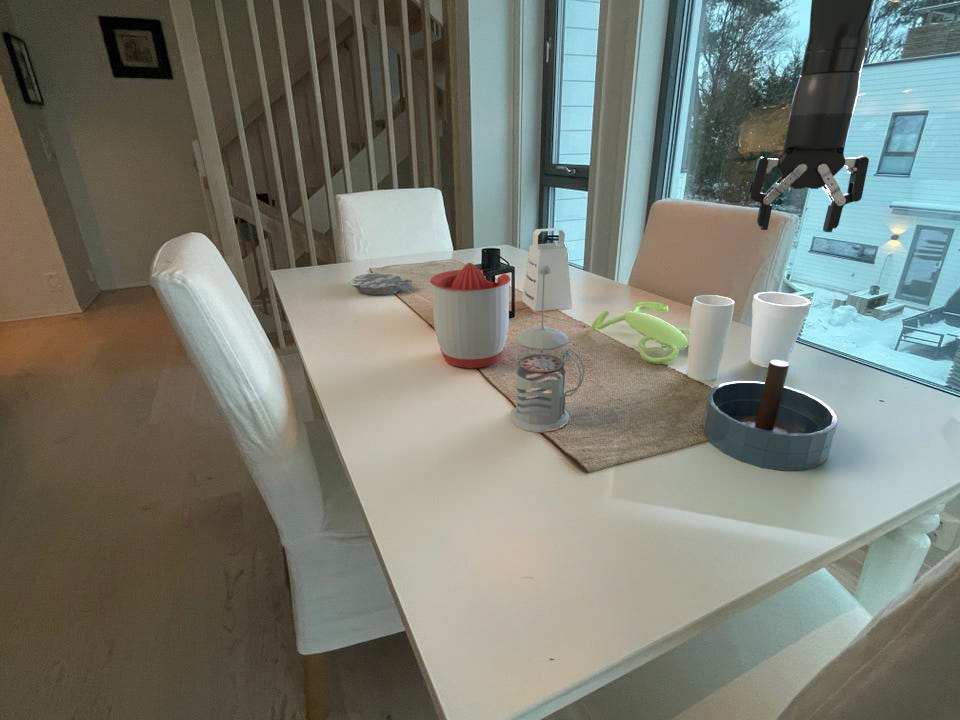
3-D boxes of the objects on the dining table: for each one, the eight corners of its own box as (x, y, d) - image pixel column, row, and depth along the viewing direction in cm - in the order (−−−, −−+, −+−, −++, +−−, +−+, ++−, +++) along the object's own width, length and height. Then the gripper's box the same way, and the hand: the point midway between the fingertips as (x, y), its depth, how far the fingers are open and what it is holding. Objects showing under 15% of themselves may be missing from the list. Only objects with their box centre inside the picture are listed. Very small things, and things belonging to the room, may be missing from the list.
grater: (521, 300, 143) (522, 227, 135) (556, 297, 145) (559, 225, 138) (535, 311, 134) (537, 234, 126) (572, 307, 136) (576, 231, 128)
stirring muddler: (780, 430, 77) (798, 357, 72) (789, 451, 72) (809, 374, 67) (736, 424, 79) (751, 352, 74) (742, 445, 73) (758, 369, 69)
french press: (523, 397, 89) (525, 255, 79) (588, 411, 84) (599, 261, 74) (499, 423, 81) (498, 269, 72) (569, 441, 76) (578, 277, 66)
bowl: (810, 422, 80) (819, 388, 78) (841, 483, 66) (854, 444, 64) (698, 408, 85) (704, 375, 82) (706, 463, 71) (713, 425, 68)
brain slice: (337, 290, 156) (336, 281, 155) (380, 279, 168) (379, 270, 167) (378, 301, 145) (377, 291, 144) (422, 288, 157) (421, 279, 155)
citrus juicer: (529, 352, 108) (531, 258, 100) (477, 381, 96) (474, 276, 88) (473, 337, 117) (471, 249, 110) (419, 361, 105) (412, 265, 97)
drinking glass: (683, 383, 93) (695, 304, 87) (679, 368, 99) (690, 293, 93) (723, 386, 92) (738, 306, 86) (717, 371, 98) (730, 295, 92)
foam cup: (754, 349, 107) (767, 289, 102) (802, 362, 101) (818, 298, 96) (733, 361, 102) (745, 298, 97) (782, 376, 95) (798, 309, 90)
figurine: (649, 316, 128) (652, 295, 126) (728, 355, 105) (733, 329, 103) (584, 325, 123) (585, 303, 121) (651, 368, 100) (655, 341, 97)
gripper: (769, 112, 70) (746, 233, 76) (892, 108, 66) (857, 236, 72) (759, 114, 76) (740, 225, 83) (871, 111, 72) (841, 228, 79)
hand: (795, 230), depth 78 cm, fingers open, 8 cm apart
